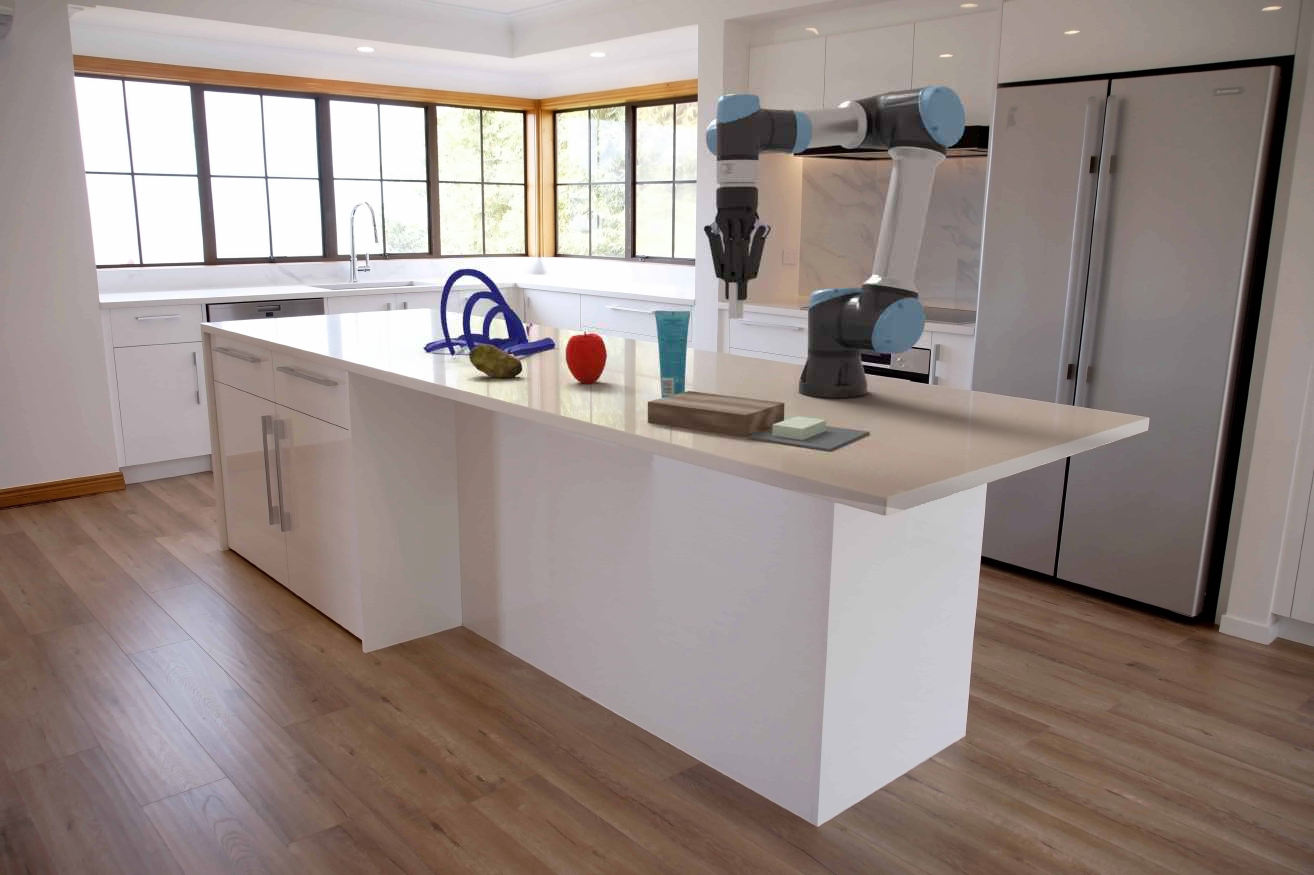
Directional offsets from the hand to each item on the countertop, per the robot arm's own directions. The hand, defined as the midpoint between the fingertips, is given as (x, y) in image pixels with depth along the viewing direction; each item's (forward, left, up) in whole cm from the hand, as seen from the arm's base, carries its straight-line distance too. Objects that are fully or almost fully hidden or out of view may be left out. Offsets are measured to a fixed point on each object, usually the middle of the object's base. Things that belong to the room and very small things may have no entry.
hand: (735, 317), depth 177 cm
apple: (-21, -54, -21) cm, 61 cm away
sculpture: (-47, -114, -21) cm, 124 cm away
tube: (-14, -24, -21) cm, 34 cm away
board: (0, -4, -20) cm, 21 cm away
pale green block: (+1, +14, -18) cm, 23 cm away
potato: (-14, -78, -21) cm, 82 cm away
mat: (0, +16, -20) cm, 26 cm away
